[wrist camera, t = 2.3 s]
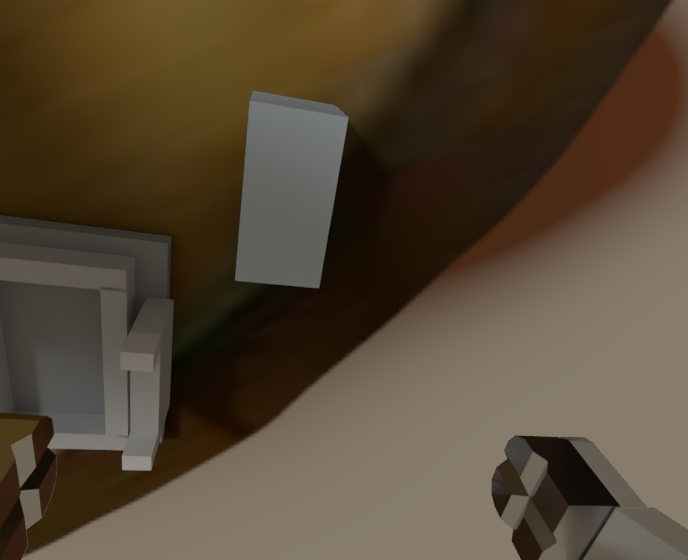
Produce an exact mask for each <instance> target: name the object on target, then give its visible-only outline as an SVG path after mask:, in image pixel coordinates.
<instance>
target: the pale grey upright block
mask: <svg viewBox="0 0 688 560" xmlns="http://www.w3.org/2000/svg"><path fill="white" fill-rule="evenodd" d="M348 118H349V117H348V116H346V115H345V114H344V113H343V112H342V111H341V110H340V109H339V108H338V107H337V106H335V105H331V104H326V103H320V102H314V101H309V100H303V99H297V98H292V97H286V96H280V95H275V94H269V93H263V92H258V91H253V92H252V95H251V98H250V104H249V116H248V128H247V140H246V152H245V164H244V176H243V188H242V201H241V213H240V225H239V237H238V249H237V261H236V273H235V281H243V282H254V283H266V284H277V285H288V286H299V287H310V288H319V285H320V280H321V274H322V268H323V262H324V257H325V251H326V245H327V239H328V233H329V228H330V222H331V216H332V210H333V205H334V199H335V193H336V187H337V182H338V176H339V170H340V164H341V158H342V153H343V147H344V141H345V135H346V130H347V124H348Z"/></svg>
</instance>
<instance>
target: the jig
mask: <svg viewBox="0 0 688 560" xmlns="http://www.w3.org/2000/svg"><path fill="white" fill-rule="evenodd" d="M171 242H172V236H166V235H158V234H149V233H141V232H133V231H125V230H117V229H109V228H101V227H93V226H84V225H76V224H68V223H60V222H52V221H44V220H36V219H28V218H20V217H11V216H3V215H0V413H12V414H27V415H43V416H48V417H50V418H52V422H53V429H54V436H53V438H52V439H51V441H50V443H49V445H48V448H57V449H94V450H124V452H123V454H122V470H151V469H152V466H153V462H154V459H155V455H156V451H157V448H158V444H159V443H162V439H163V436H164V432H165V419H166V415H167V412H168V408H169V405H170V384H171V360H172V335H173V311H174V300H171V299H169V298H170V270H171Z"/></svg>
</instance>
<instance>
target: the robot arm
mask: <svg viewBox="0 0 688 560" xmlns="http://www.w3.org/2000/svg"><path fill="white" fill-rule="evenodd" d="M53 436H54V429H53V422H52V418H50V417H48V416H43V415H27V414H12V413H0V560H21V559H22V557H23V555H24V553H25V551H26V549H27V547H28V541H27V534H26V529H28V528H29V527H30V526H32V525H33V524H34V523H36V522H37V521H38V520H40V519H41V518H42V516H43V514H44V512H45V510H46V508H47V506H48V504H49V502H50V499H51V495H52V492H53V489H54V485H55V482H56V473H57V459H56V455H55V454H54V453H53V452H52V451H51V450H50V449H49V448H48V445H49V443H50V441H51V439H52V438H53ZM505 453H506V456H507V460H505V461H504V462H503V463H501V464H500V465H499V466H498V467H497V468H496V470H495V473H494V475H493V478H492V496H493V501H494V505H495V508H496V510H497V512H498V514H499V516H500V518H501V519H502V520H503V521H504V522H506V523H507V524H508V525H509V526H510V527H511V528H513V534H512V542H513V544H514V546H515V548H516V550H517V552H518V554H519V556H520V558H521V560H688V529H686V528H684V527H683V526H681V525H680V524H678V523H677V522H675V521H674V520H672V519H671V518H669V517H667V516H666V515H665V514H663V513H661V512H660V511H658V510H657V509H655V508H647V507H646V505H645V504H644V503H643V502H642V501H641V500H640V498H639V497H638V496H637V495H636V494H635V492H634V491H633V490H632V489H631V488H630V486H629V485H628V484H627V483H626V482H625V480H624V479H623V478H622V477H621V476H620V474H619V473H618V472H617V471H616V470H615V468H614V467H613V466H612V465H611V464H610V462H609V461H608V460H607V459H606V458H605V457H604V455H603V454H602V453H601V452H600V451H599V449H598V448H597V447H596V446H595V445H594V444H593V443H592V442H591V441H589V440H588V439H586V438H581V437H560V438H559V437H539V436H514V437H513V438H512V439H510V440H509V442H508V444H507V446H506V448H505Z"/></svg>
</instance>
